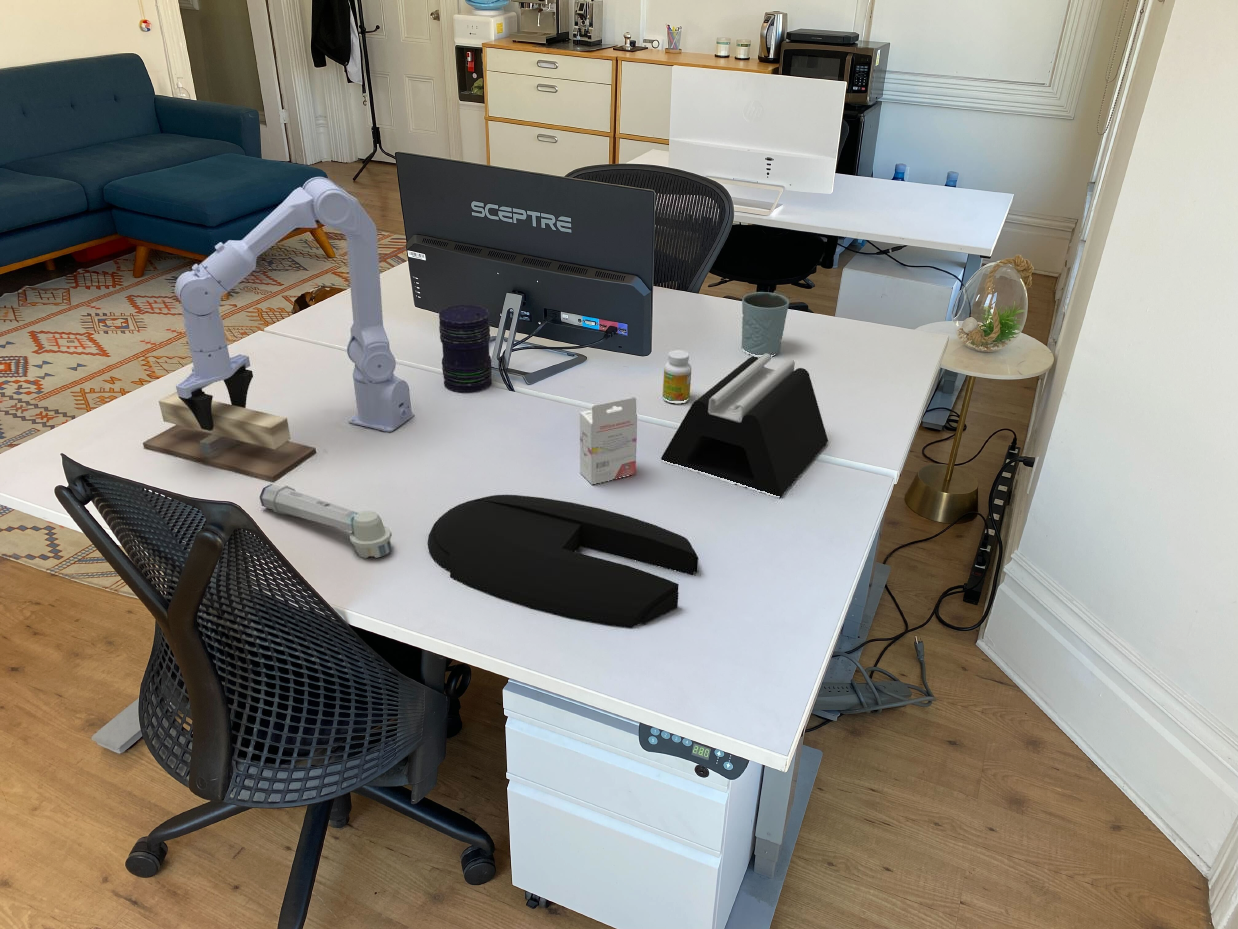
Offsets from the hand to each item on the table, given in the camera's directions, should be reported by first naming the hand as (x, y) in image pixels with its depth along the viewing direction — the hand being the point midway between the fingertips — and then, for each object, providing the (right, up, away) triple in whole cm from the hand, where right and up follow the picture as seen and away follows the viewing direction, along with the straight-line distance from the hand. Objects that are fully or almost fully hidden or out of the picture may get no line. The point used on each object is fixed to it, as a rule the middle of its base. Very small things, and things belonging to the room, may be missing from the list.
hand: (223, 419), depth 157 cm
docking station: (+59, -22, -22) cm, 66 cm away
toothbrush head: (+23, -18, -17) cm, 34 cm away
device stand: (+90, -6, +7) cm, 91 cm away
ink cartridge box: (+66, -10, -1) cm, 66 cm away
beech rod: (0, -2, +1) cm, 2 cm away
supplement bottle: (+79, +5, +26) cm, 83 cm away
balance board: (0, -5, +3) cm, 6 cm away
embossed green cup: (+99, +18, +49) cm, 112 cm away
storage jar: (+37, +9, +30) cm, 48 cm away
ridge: (0, -5, +3) cm, 6 cm away
